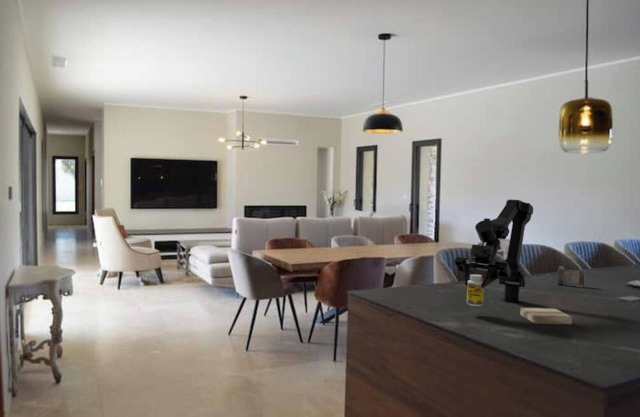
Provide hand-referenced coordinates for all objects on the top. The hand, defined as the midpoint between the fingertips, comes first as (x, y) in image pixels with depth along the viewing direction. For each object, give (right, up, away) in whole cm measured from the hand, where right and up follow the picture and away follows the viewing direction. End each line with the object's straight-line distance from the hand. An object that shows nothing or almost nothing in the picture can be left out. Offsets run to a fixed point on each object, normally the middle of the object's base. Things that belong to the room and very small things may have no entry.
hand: (474, 286), depth 176 cm
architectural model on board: (+64, -10, +66) cm, 93 cm away
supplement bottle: (+1, -7, +1) cm, 7 cm away
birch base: (+23, -11, -2) cm, 26 cm away
